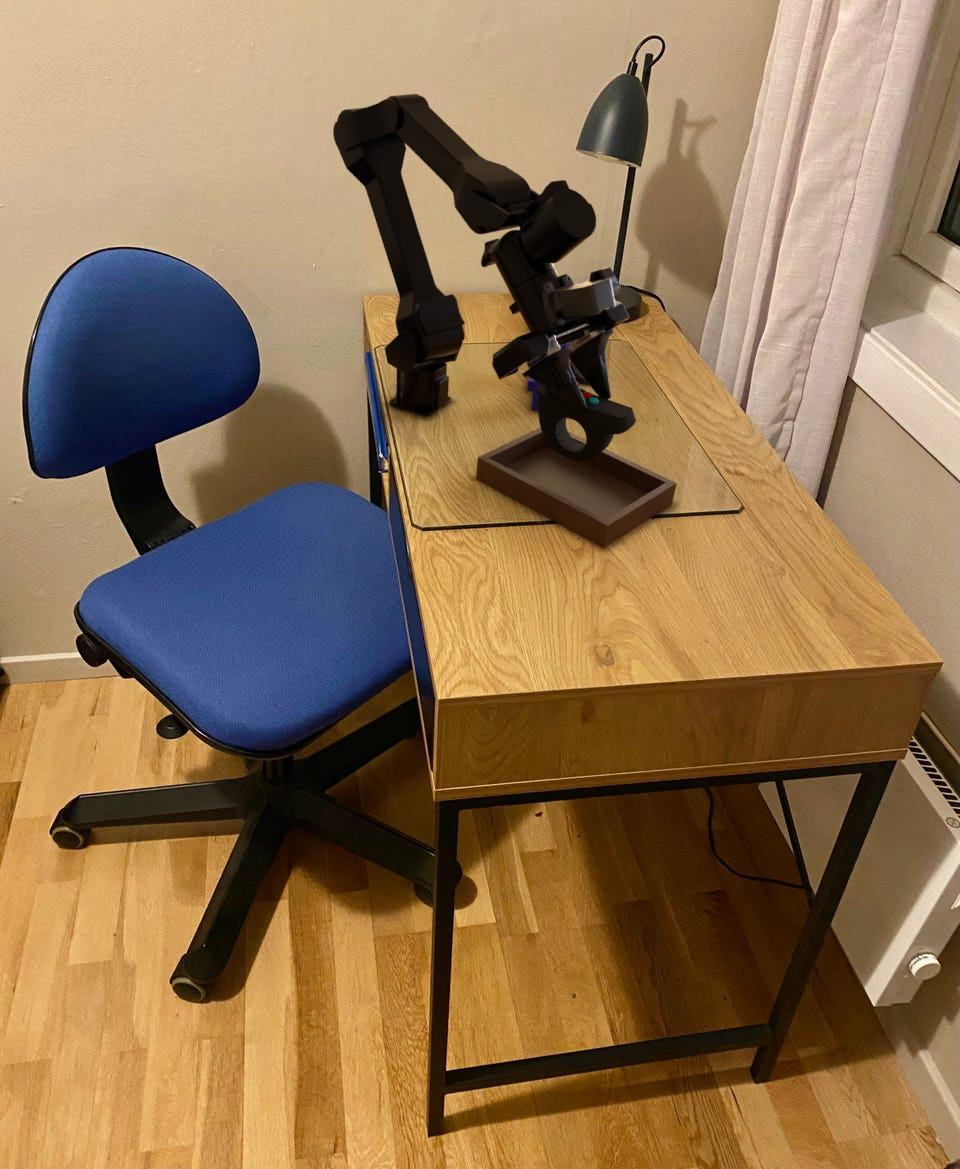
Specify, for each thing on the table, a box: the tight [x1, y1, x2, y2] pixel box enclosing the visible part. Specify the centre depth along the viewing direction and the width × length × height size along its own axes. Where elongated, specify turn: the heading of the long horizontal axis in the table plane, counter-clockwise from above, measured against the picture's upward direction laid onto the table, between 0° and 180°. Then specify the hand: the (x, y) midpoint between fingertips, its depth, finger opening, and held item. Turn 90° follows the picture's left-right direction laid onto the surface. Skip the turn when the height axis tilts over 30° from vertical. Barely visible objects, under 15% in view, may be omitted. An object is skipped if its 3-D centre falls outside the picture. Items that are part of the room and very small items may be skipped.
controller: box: [537, 385, 637, 460], centre depth 112 cm, size 4×12×10 cm, turn 55°
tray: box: [475, 427, 677, 549], centre depth 117 cm, size 20×14×3 cm
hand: (595, 405), depth 110 cm, fingers closed on controller, 4 cm apart
